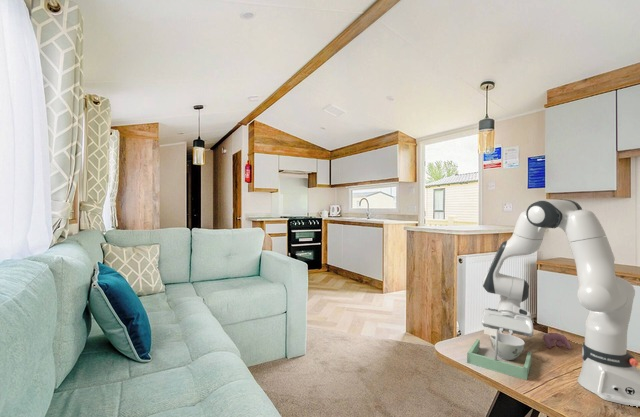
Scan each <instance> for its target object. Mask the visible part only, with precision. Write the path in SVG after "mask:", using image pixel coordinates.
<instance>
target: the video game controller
mask: <svg viewBox="0 0 640 417" xmlns="http://www.w3.org/2000/svg"><path fill="white" fill-rule="evenodd" d="M542 340H544V341H543V342H544V343H545V345H546V347H547V348H548V349H549V350H550V349H552V347H555V346H557V347H563V345H564V346H565V347H566V349H568V350H570V351H571V349H572V346H571V343H570V342H569V340H568V338H567V337H566V336H565V335H564V334H562V333H561V334H560V333H557V332H556V333H555V332H548V333H545V334H543V335H542ZM555 341H556V342H555Z"/></svg>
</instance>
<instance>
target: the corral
mask: <svg viewBox="0 0 640 417" xmlns="http://www.w3.org/2000/svg"><path fill="white" fill-rule="evenodd" d="M483 328H484V329H483V334H484V335H488V336H490V335H491V336H496V338H495V350H494V358H492V357H488V356H485V355H481V354H478V352H479V350H480V347H481V346H480V344H481V339H478V338H477V339H475V341H474V343H472V345H471V347H470V348H469V350H468V351H467V354H466V355H467V356H466V357H467V358H466V363H467V364H470V365H474V366H477V367H481V368H484V369H486V370H491V371H494V372H497V373H501V374H504V375H508V376H511V377H514V378H517V379H520V380H524V381H527V380H528V378H529V373H530V368H531V365H532V352H530V351H527V353H526V357H525V362H524V365H523V366H521V365H518V364H517V365H516V364H514V363H510V362H507V361H502V360H499V359H498V354H497V352H498V333H499V330H498V329H492V328H488V327H484V326H483Z"/></svg>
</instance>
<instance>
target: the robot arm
mask: <svg viewBox="0 0 640 417" xmlns="http://www.w3.org/2000/svg"><path fill="white" fill-rule="evenodd" d="M557 228H559V229H561V230H562V231H564V233H565V235H566V238H567V242H568V244H569V245H568V246H569V249H570V251H571V253H572V256H573V260H574V263H575V267H576V276H577V284H578V287H577V288H578V289H577V292H576V293H577V294H576V295H577V300H578V301H579V304H580V305H581V306H583V307H584V308H585V309H587V310H589V311H588V315H587V318H586V319H585V322H584V325H585V326H584V342H583V343H582V348H581V350H582V352H581V353H582V354H581V356H582V365H581V370H580V373H579V374H578V375H579V376H578V377H577V383H578V384H579V385H580V386H581V387H582V388H585V389H586V390H587V391H589V392H590V393H591V392H592V393H593V394H594V395H596V396H598V397H600V398H601V399H602V400H604V401H606V402H607V401H608V402H612V403H615V404H616V403H617V404H621V405H625V406H629V405H630V406H631V407H633V406H636V407H635V408H638V406H640V369H639V368H638V366H639V362H638V360H637V359H636V358H635V356H633V354H632V353H631V352H628V351H627V347H628V346H627V344H628V330H629V329H628V328H629V323H630V321H631V315H632V310H633V303H634V299H635V296H636V290H635V287H634V286H633V284H632V283H631V282H629V281H628V280H627V279H625V278H622V277H619V276H616V275H617V274H616V270H615V268H616V267H615V258H616V257H615V255H614V253H613V250H612V247H611V244H610V242H609V238H608V237H607V235H606V231H605V229H604V227H603V226H602V224H601V222H600V220H599V218H598V217H597V216H596V214H595V213H594V211H593V212H592V211H591V210H587V209H583V208H582V206H581V205H580V204H579V203H578V202H577V201H574V200H570V199H545V200H538V201H535V202H533V203H531V204H530V205H529V206H528V207H527V209H526V210H523V211H522V212H521V213H520V214H519V216H518V218H517V220H516V222H515V225H514V229H513V232H512V235H511V236H510V238H509V239H507V240H505V241H502V243H501V244H500V246H499V247H498V249H497V252H496V254H495V256H494V258H493V259H492V262H491V264H490V267H489V268H488V270H487V272H486V273H485V275H484V276H483V279H482V287H483V289H484V290H485V291H486V292H487V293H488V294H493V295H498V296H499V299H500V301H499V303H498V307H497V308H490V307H486V308H484V309H483V312H482V318H481V325H482V326H483V328H484V327H487V328H491V329H498V333H501V334H504V332H506V333H508V334H509V335H513V336H514V335H519V336H524V337H528V338H532V337H534V324H533V320H532V315H531V312H530V311H528V310H526V309H523V308H522V307H521V303H523V302H525V301H526V300H527V299H528V298H529V290H530V285H529V283H528V282H527V281H526V280H525V279H523V278H519V277H517V276H511V275H507V274H503V273H500V270H501V268H502V265H503V264H504V262H505V261H506V260H507V259H508V258H512V257H517V256H518V257H519V256H520V257H521V256H529V255H532V254H535V253H536V252H538V250H540V248H541V246H542V243H543V240H544V236H545V231H546V229H557ZM630 406H629V407H630Z"/></svg>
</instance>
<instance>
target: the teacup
mask: <svg viewBox="0 0 640 417" xmlns="http://www.w3.org/2000/svg"><path fill="white" fill-rule="evenodd" d="M489 336H490V337H489V338H490V343H491V347H492V349H493V350H494V351H495V338H496V336H491V335H489ZM525 345H526V344H525V341H524V340H523V339H522V338H520V337H518V336H515V335H514V334H513V335H509V333H503V334H501V333H500V332H498V352H497V356H498V357H499V358H501V359H503V360H507V361H514V360H516V358H518V357H520V355H521V354H522V352H523V351H524V348H525Z"/></svg>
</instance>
